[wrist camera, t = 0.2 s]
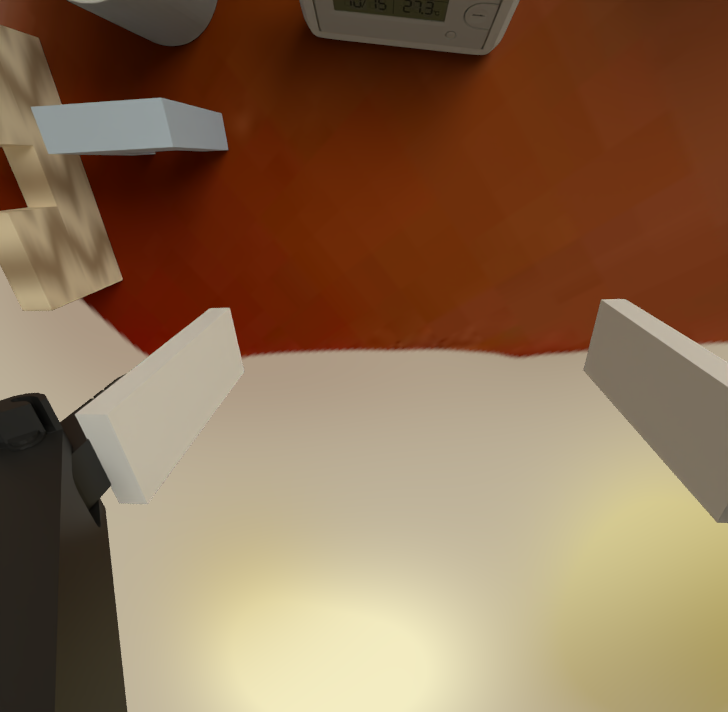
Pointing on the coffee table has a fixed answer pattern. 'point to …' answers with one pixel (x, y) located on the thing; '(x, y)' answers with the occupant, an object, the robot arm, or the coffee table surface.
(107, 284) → the maple rail
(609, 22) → the coffee table surface
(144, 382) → the robot arm
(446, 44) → the digital clock
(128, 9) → the coffee mug
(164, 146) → the bridge plate
